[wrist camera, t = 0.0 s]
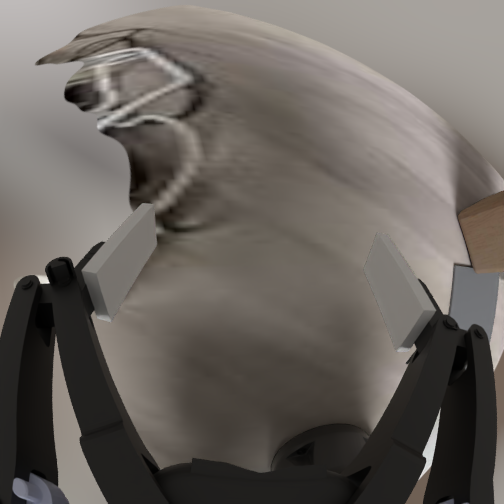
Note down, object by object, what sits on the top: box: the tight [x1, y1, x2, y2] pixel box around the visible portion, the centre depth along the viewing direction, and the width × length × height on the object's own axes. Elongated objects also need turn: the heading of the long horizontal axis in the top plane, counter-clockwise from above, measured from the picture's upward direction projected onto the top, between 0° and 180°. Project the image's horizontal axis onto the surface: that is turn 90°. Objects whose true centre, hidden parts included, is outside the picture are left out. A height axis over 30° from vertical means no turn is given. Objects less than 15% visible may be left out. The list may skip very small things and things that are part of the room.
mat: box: [448, 265, 499, 370], centre depth 30 cm, size 20×13×1 cm, turn 173°
